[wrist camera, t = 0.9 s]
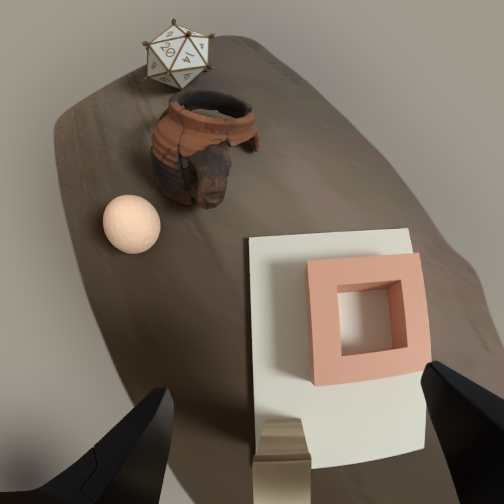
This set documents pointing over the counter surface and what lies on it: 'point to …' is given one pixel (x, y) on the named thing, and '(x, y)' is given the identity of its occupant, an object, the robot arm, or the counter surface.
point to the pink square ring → (401, 317)
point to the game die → (177, 56)
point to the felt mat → (352, 341)
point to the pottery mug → (199, 145)
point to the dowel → (282, 464)
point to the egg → (131, 224)
